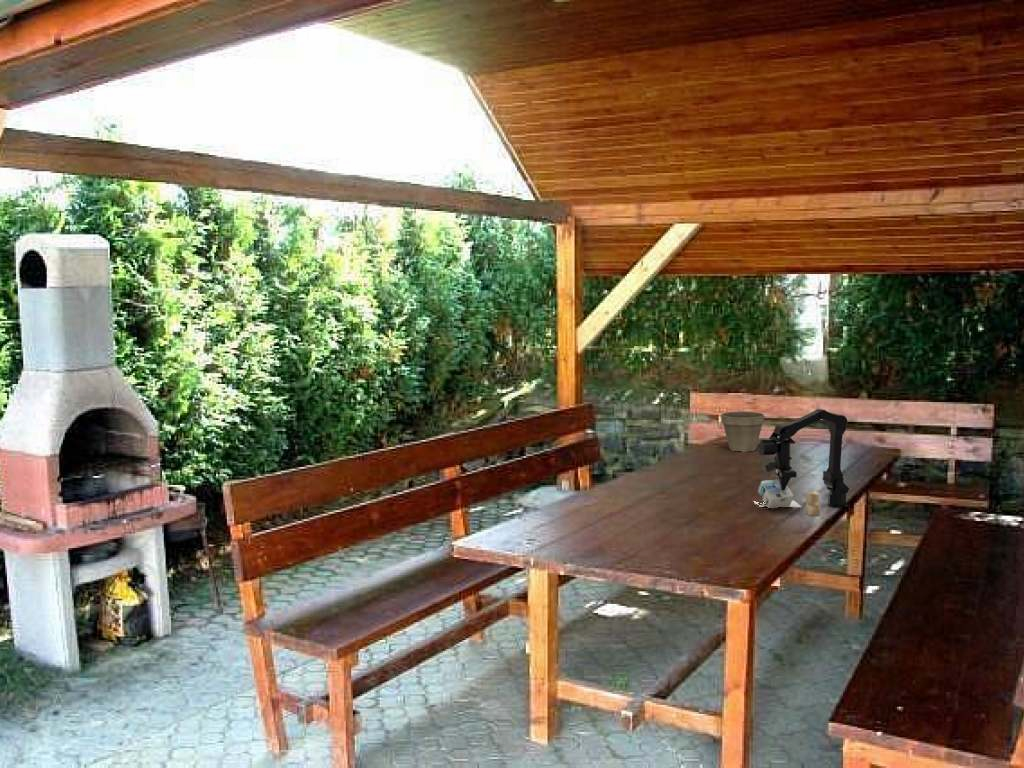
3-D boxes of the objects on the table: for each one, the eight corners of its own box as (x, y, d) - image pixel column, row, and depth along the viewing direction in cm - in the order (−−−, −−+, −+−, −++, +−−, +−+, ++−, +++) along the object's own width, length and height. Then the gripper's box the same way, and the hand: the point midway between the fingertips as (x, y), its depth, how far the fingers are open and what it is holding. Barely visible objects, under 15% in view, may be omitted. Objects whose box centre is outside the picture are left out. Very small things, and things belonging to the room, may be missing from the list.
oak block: (815, 513, 377) (815, 492, 377) (818, 515, 373) (819, 494, 373) (806, 513, 378) (806, 492, 377) (809, 515, 374) (809, 494, 373)
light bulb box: (772, 498, 382) (761, 480, 390) (768, 509, 386) (756, 491, 394) (794, 495, 385) (783, 477, 393) (790, 506, 389) (778, 488, 397)
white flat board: (793, 501, 400) (793, 500, 400) (801, 507, 388) (801, 506, 388) (752, 502, 400) (752, 501, 400) (759, 508, 389) (759, 507, 389)
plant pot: (751, 455, 517) (751, 417, 515) (713, 451, 534) (713, 414, 532) (771, 449, 535) (772, 413, 533) (734, 445, 552) (734, 410, 550)
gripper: (758, 450, 393) (758, 486, 394) (770, 458, 374) (770, 495, 375) (784, 450, 392) (783, 485, 394) (797, 457, 374) (796, 494, 375)
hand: (782, 490), depth 385 cm, fingers closed
